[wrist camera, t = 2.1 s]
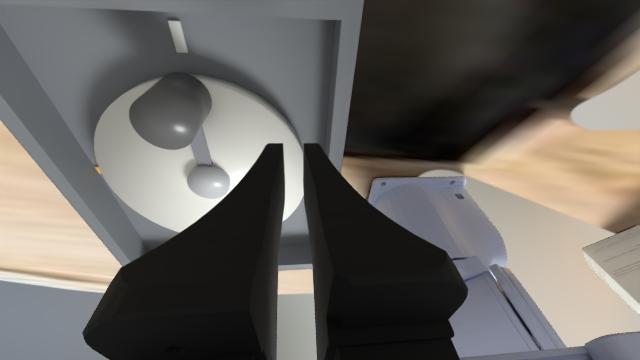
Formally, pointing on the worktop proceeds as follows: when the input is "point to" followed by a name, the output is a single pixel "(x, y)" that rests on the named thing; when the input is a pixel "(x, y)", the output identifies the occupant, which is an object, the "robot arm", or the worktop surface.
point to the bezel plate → (159, 60)
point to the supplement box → (618, 264)
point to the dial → (190, 146)
